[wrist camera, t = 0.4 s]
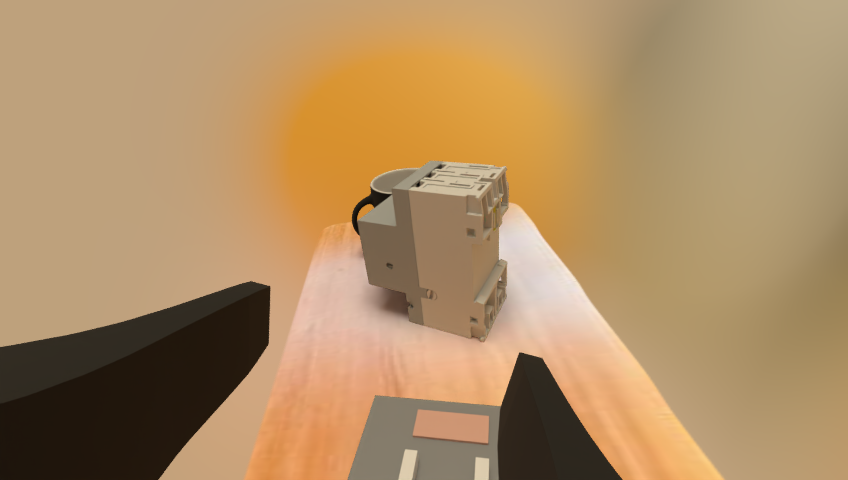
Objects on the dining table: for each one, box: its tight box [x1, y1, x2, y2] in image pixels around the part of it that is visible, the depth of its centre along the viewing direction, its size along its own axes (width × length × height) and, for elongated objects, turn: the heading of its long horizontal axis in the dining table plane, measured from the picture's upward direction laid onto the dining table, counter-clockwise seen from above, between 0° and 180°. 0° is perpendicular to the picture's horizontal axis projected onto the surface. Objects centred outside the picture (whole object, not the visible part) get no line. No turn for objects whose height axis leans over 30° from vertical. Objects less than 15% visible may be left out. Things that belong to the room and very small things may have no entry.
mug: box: [352, 168, 426, 236], centre depth 51 cm, size 12×9×10 cm
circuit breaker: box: [357, 161, 509, 342], centre depth 40 cm, size 8×14×15 cm, turn 63°
